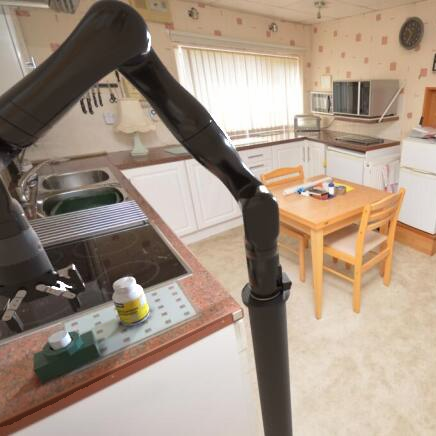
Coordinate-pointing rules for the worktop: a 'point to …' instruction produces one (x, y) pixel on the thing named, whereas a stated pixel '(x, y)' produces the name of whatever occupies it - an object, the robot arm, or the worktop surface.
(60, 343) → the white short cylinder
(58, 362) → the button base
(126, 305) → the pill bottle
